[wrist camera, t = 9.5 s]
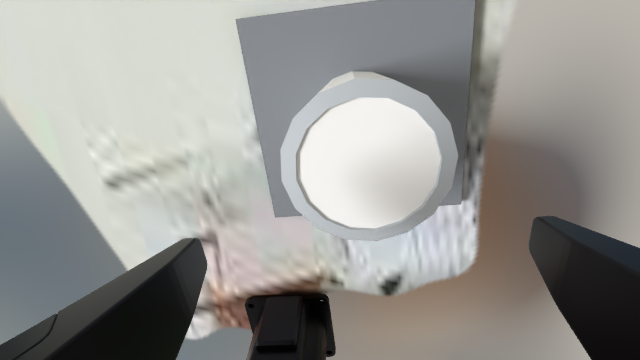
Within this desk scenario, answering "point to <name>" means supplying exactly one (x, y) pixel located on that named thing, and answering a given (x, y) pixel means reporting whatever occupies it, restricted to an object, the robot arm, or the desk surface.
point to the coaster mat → (356, 66)
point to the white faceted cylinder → (368, 157)
